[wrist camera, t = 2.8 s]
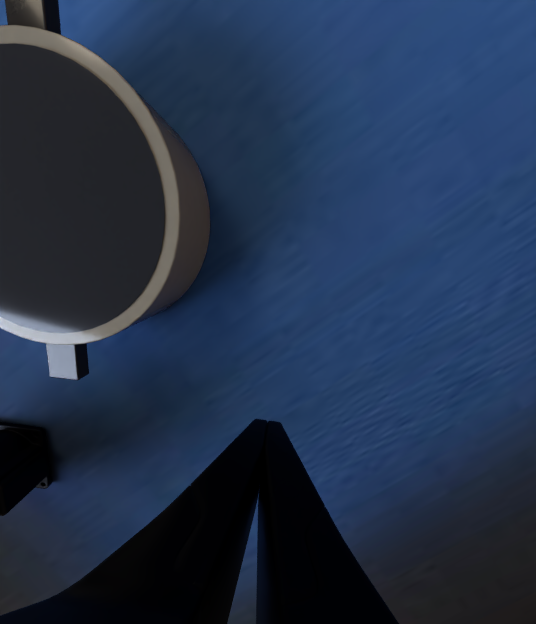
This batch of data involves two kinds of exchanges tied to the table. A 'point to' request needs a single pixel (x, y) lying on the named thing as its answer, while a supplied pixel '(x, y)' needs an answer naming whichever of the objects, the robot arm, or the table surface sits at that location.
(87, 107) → the pot
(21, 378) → the table surface
